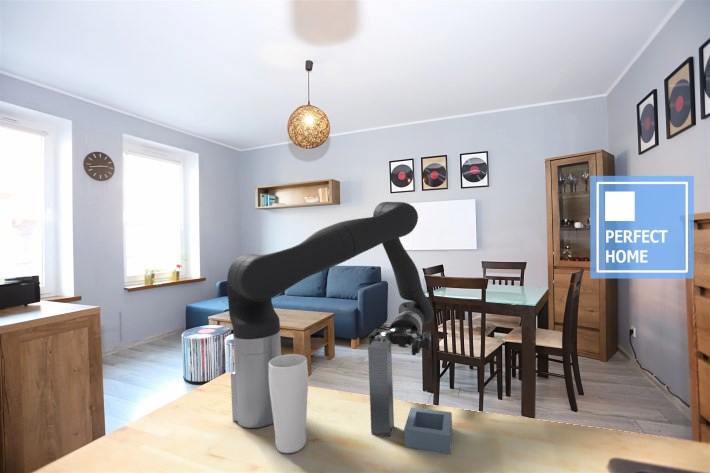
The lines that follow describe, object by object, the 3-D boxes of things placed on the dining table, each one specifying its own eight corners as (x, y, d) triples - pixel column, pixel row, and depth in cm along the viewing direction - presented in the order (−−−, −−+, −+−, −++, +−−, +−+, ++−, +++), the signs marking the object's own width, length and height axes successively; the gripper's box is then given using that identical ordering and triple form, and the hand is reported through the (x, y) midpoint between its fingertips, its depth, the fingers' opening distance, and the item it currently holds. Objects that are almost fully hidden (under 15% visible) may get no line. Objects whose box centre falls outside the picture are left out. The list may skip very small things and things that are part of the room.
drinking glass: (302, 459, 55) (299, 368, 55) (264, 456, 57) (260, 367, 57) (315, 435, 62) (312, 354, 62) (281, 432, 63) (277, 352, 63)
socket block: (404, 446, 58) (404, 429, 58) (411, 422, 65) (410, 407, 65) (450, 453, 56) (449, 435, 56) (452, 428, 63) (451, 412, 63)
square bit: (371, 434, 62) (368, 347, 62) (376, 423, 65) (373, 341, 65) (390, 437, 61) (386, 348, 61) (394, 426, 64) (390, 342, 64)
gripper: (379, 313, 91) (361, 330, 76) (433, 314, 87) (426, 333, 71) (381, 340, 91) (363, 364, 76) (434, 343, 87) (428, 369, 71)
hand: (393, 349), depth 74 cm, fingers open, 8 cm apart
